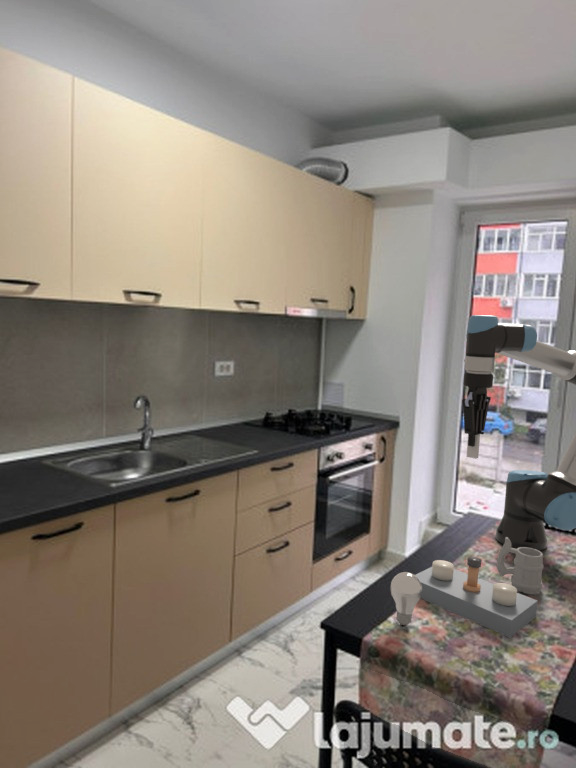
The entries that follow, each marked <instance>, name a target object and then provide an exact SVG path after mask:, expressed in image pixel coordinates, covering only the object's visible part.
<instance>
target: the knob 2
mask: <svg viewBox="0 0 576 768" xmlns="http://www.w3.org/2000/svg"><path fill="white" fill-rule="evenodd" d="M493 584H494V585H493V593H492V599H493V601H495V602H496V603H498V604H501V605H505V606H507V607H508V606H513V605H515V604H516V597H517V593H518V591H517V589H516V588H515V587H514V586H512V584H509V583H504V582H496V583H493Z"/></svg>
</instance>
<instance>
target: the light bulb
mask: <svg viewBox="0 0 576 768" xmlns="http://www.w3.org/2000/svg"><path fill="white" fill-rule="evenodd" d="M415 575H416V574H414V573H412V572H408V571H403V572H399V573H397V574H396V575H395V576H394V577H393V578H392V580H391V582H390V587H389V589H390V594H391V597H392V598H393V600H394V603H395V609H396V617H395V618H396V621H397V622H398V624H400V625H401V626H402V625H403V626H402V627H406V626H407V625H409V624H410V623H412V618H413V617H412V616H413V613H414V610H415V606H416V605H417V604H418V602H419V601H420V600H421V596H422V584H421V582H420V580H419V579H418V577H416V576H415Z"/></svg>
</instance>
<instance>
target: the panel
mask: <svg viewBox="0 0 576 768" xmlns="http://www.w3.org/2000/svg"><path fill="white" fill-rule="evenodd" d="M414 575H415V576H416V577H418V579H419V580H420V582H421V584H422V596H421V598H420V600H421V599H422V600H423V599H424V601H426V602H429V603H431V604H432V603H433V604H432V605H435V606H437V607H439V608H442V609H444V610H446V611H449V612H451V613H453V614H456V615H458V616H460V617H461V618H464V619H466V620H470V621H471V622H473V623H475V624H478V625H481V626H483V627H484V628H486V629H488V630H489V629H490V630H491V631H494V632H497V633H498V634H501V635H503V636H505V637H507V638H512V637H513V636H514V635H515V634H517V633H518V632H519V631H520V630H521V629H523V628H524V627H525V626H527V624H529V623H531V621H533V620H534V619H536V618H537V611H538V610H537V609H538V603H539V602H538V600H537V599H534V598H532V597H529V596H527V595H523V594H521V593H519V592H517V597H516V604H515V605H513V606H508V607H507V606H505V605H501V604H498V603H496V602H495V601H493V599H492V593H493V585H494V584H495V583H492V582H490V581H487V580H484V579H482V578H479V577H478V584H480V585H481V589H480V592H477V593H473V592H469V591H466V590H465V589H464V588H463V583H464V582H465V581H467V577H468V572H467V573H466V572H464V571H461V570H458V569H456V568H454V572H453V579H452V580H448V581H443V580H439V579H436V578H434V577H433V576H432V566H430V567H428V568H426V569H425V570H422V571H420V572H418V573H416V574H414Z"/></svg>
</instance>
